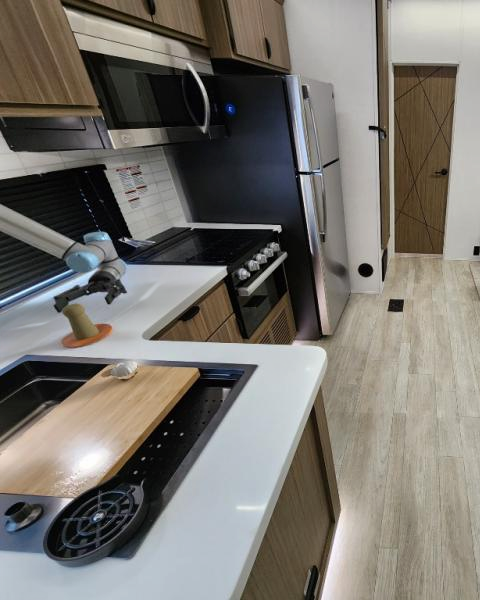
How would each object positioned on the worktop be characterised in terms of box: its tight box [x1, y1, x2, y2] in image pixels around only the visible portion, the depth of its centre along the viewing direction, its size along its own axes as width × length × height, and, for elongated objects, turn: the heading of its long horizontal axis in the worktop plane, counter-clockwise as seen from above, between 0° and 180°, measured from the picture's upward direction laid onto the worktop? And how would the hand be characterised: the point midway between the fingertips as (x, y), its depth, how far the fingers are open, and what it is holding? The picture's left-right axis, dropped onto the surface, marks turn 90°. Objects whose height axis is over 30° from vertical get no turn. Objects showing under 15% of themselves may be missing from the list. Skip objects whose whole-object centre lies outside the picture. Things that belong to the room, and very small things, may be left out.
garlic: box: [110, 360, 139, 377], centre depth 91 cm, size 6×5×5 cm
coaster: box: [60, 323, 114, 349], centre depth 109 cm, size 13×13×1 cm
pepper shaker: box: [61, 303, 99, 340], centre depth 106 cm, size 6×6×11 cm
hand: (82, 305), depth 110 cm, fingers open, 13 cm apart
